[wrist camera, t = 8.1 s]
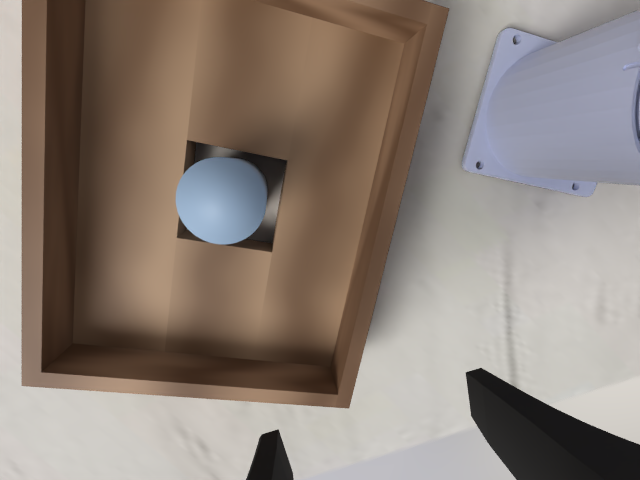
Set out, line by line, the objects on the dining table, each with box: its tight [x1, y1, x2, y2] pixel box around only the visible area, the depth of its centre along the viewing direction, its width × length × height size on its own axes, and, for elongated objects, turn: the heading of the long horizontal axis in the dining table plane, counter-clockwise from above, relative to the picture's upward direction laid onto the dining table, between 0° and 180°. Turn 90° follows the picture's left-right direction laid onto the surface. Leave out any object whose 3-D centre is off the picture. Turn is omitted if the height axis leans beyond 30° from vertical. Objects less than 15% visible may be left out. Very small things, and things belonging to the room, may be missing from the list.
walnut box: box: [22, 0, 449, 408], centre depth 17 cm, size 16×20×4 cm
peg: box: [176, 157, 268, 244], centre depth 16 cm, size 4×4×6 cm
